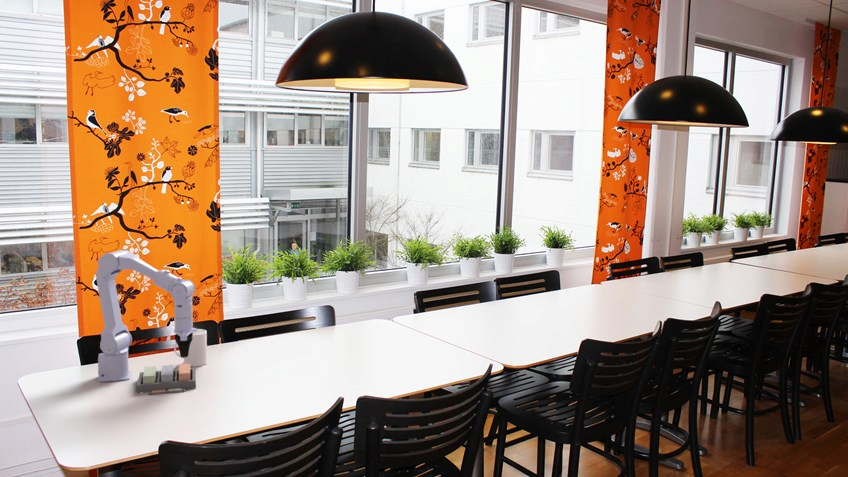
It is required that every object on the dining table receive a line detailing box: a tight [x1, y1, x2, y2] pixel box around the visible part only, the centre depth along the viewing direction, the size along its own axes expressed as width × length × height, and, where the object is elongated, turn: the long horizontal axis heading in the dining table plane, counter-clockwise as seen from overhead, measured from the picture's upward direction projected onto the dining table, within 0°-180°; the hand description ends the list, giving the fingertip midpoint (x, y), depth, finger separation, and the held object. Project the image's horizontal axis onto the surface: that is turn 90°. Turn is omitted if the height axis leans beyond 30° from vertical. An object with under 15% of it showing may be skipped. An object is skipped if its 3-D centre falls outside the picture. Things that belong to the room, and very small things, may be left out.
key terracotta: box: [178, 363, 191, 381], centre depth 225 cm, size 4×10×3 cm, turn 19°
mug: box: [173, 328, 209, 368], centre depth 244 cm, size 12×8×12 cm
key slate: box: [160, 364, 174, 383], centre depth 224 cm, size 4×10×3 cm, turn 19°
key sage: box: [142, 365, 157, 384], centre depth 222 cm, size 4×10×3 cm, turn 19°
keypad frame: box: [136, 367, 197, 394], centre depth 224 cm, size 18×13×3 cm
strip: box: [147, 388, 186, 396], centre depth 217 cm, size 11×2×1 cm, turn 109°
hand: (184, 355), depth 225 cm, fingers open, 2 cm apart
